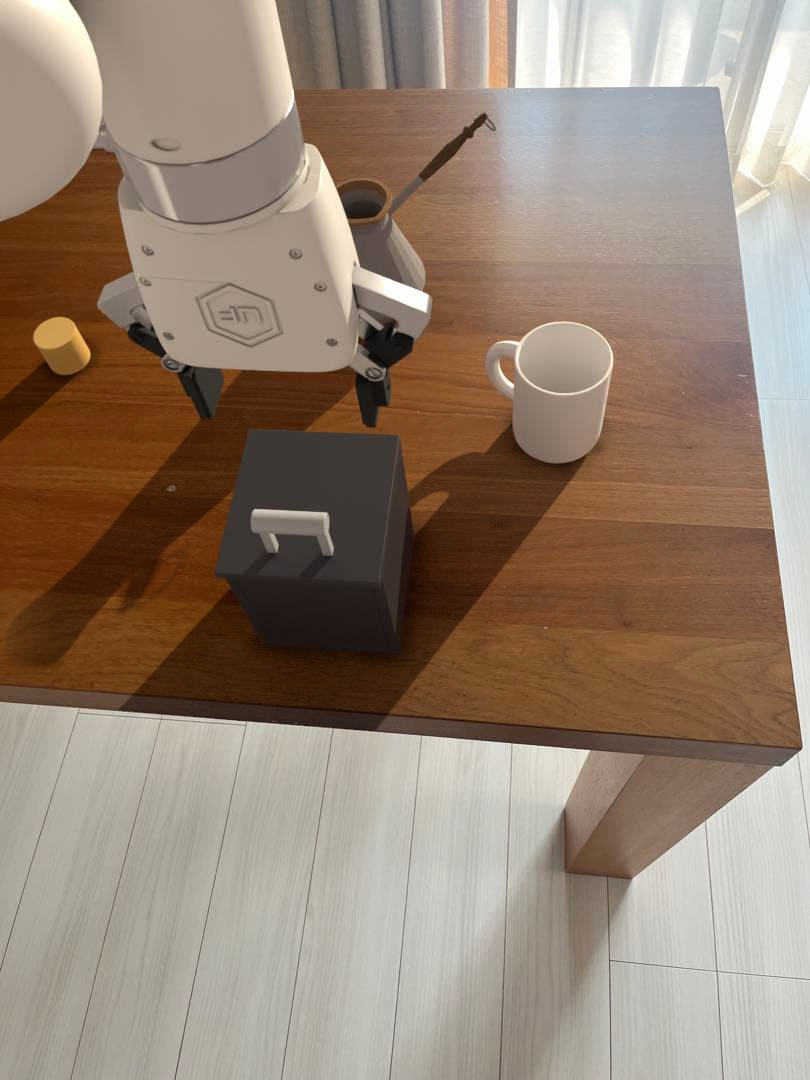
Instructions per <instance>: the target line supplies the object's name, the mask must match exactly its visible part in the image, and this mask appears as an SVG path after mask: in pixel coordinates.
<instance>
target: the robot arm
mask: <svg viewBox="0 0 810 1080" xmlns="http://www.w3.org/2000/svg"><path fill="white" fill-rule="evenodd" d="M283 36H284V35H283V32H282V28H281V23H280V17H279V13H278V7H277V3H276V0H0V222H3V221H6V220H8V219H9V220H10V219H11V218H15V217H18V216H20V215H22V214H24V213H27V212H28V211H30V210H32V209H33V208H36V207H38V206H40V205H41V204H42V203H45V202H46V201H48V200H50V199H51V198H53V197H54V196H55V195H56V194H58V192H60V191H61V190H63V189H64V188H65V187H66V186H67V185H68V184H69V183H71V181H72V180H73V179H74V178H75V176H77V174H78V173H79V172H80V170H81V169H82V168H83V167H84V165H85V164H86V163H87V160H88V158H89V156H90V154H91V152H92V151H93V152H106V153H107V154H108V155H111V156H114V157H115V158H116V160H117V162H118V164H119V166H120V170H121V172H122V174H123V177H122V178H121V180H120V182H119V184H118V186H117V187H118V188H117V201H118V208H119V209H118V210H119V214H120V220H121V224H122V230H123V234H124V238H125V242H126V247H127V251H128V252H127V253H128V255H129V260H130V263H131V267H132V271H131V272H128V273H127V274H125V275H123V276H120V277H119V278H117V279H115V280H112V281H110V282H108V283H106V284H104V285H103V288H102V289H101V292H100V295H99V297H98V300H97V302H96V307H97V310H99V311H100V312H101V313H102V314H104V315H105V316H106V317H107V318H108V319H110V320H111V321H112V322H113V323H114V324H115V325H117V326H118V327H119V328H120V329H124V330H126V331H127V333H126V334H127V338H128V339H129V340H130V342H133V343H134V344H135V345H137V346H139V347H141V348H143V349H145V350H146V351H148V352H150V353H151V354H153V355H155V356H157V357H159V358H161V360H160V365H161V367H162V368H163V369H164V370H166V371H167V372H170V373H176V375H177V378H178V380H179V382H180V384H181V386H182V388H183V390H184V392H185V395H186V396H187V397H188V398H190V399H191V402H192V404H193V406H194V407H195V410H196V412H197V414H198V416H199V418H200V419H202V420H211V419H212V418H214V417H215V414H216V411H217V408H218V406H219V405H218V404H219V401H220V398H221V394H222V390H223V388H224V384H225V378H224V377H225V376H224V375H223V371H222V369H224V370H241V371H243V370H245V371H263V372H264V371H265V372H266V371H267V372H293V373H327V372H334V371H338V370H341V369H344V368H347V367H349V368H351V369H353V370H354V371H355V372H356V374H355V375H356V376H355V381H354V382H355V383H354V387H355V393H356V397H357V402H358V406H359V411H360V416H361V421H362V425H364V426H365V427H366V428H372V429H373V428H375V429H376V428H377V426H378V419H379V413H380V408H381V407H382V408H383V407H387V408H388V407H390V404H391V403H390V402H391V398H392V380H391V379H392V378H391V373H390V368H392V367H393V366H394V365H396V364H397V363H398V362H400V361H402V360H403V359H405V358H406V357H407V356H408V355H410V354H411V353H412V352H413V349H414V345H415V344H416V342H417V341H418V340H419V339H420V337H421V336H422V335H423V333H424V331H425V330H426V329H427V327H428V325H429V324H430V322H431V320H432V319H431V318H432V311H433V307H434V306H433V305H434V299H433V297H432V296H431V295H429V294H428V293H426V292H423V291H422V292H421V291H418V290H416V289H413V288H411V287H408V286H406V285H403V284H401V283H398V282H396V281H393V280H391V279H388V278H386V277H383V276H381V275H378V274H376V273H373V272H371V271H368V270H366V269H363V268H361V267H360V264H359V260H358V256H357V252H356V248H355V245H354V241H353V238H352V234H351V230H350V227H349V224H348V221H347V218H346V215H345V212H344V209H343V206H342V203H341V200H340V198H339V195H338V193H337V190H336V188H335V186H336V184H335V183H334V180H333V178H332V176H331V174H330V172H329V169H328V166H327V165H326V163H325V161H324V158H323V157H322V154H321V153H320V151H319V149H318V148H317V147H316V145H314V144H312V143H311V144H310V143H306V142H305V139H304V134H303V130H302V124H301V119H300V115H299V110H298V105H297V101H296V96H295V95H296V94H295V91H294V87H293V80H292V76H291V70H290V67H289V62H288V61H289V60H288V56H287V52H286V47H285V42H284V38H283ZM362 307H365V308H367V309H370V310H372V311H375V312H378V313H380V314H383V315H385V316H388V317H390V318H393V319H394V320H393V321H390V322H388V323H386V324H385V325H384V324H382V325H381V324H380V323H379V322H377V321H376V320H375V319H374V318H372V317H371V316H370V315H369V314H367V313H366V312H365V311H363V310H362V309H361V308H362ZM359 338H360V339H361V340H362V341H363V343H362V345H361V344H360V343H359Z"/></svg>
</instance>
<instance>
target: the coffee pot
mask: <svg viewBox="0 0 810 1080" xmlns="http://www.w3.org/2000/svg"><path fill="white" fill-rule="evenodd" d="M486 121H488V123H489V124H490V125H491V126H492V127H491V126H490V125H489V124H488V123H487V122H486ZM483 125H485V126H486V127H487V128H488V129H489V130H490V131H492V132H496V131H497V128H496V125H495V124H494V123H493V121H492V120H491V119H490V118H489V116H488V114H487V113H486V112H483V113H480V114H479V115H478V116H477V117H476V118H474V119H473V122H472V123H471V124H470V125H465V126H464V127H463V129H462V132H461V133H460V134H458V135H457V136H456V137H455V138H453V139H452V140H450V141H449V142H448V143H446V144H444V146H443V147H442V149H440V151H439V152H438V153H437V154H436V155H435V156H434V157H433V158H432V160H431V161H430V162H429V163H428V164H427V165H426V166H425V167H424V168H423V169H422V170H421V171H420V172H419V173H418V175H417V176H416V178H415V179H413V180H412V181H411V182H410V183H409V184H408V185H407V186H406V187H405V188H404V189H402V190H401V191H400V192H399V193H398V194H397V195H396V196H395V197H394V198H393V195H392V192H391V190H390V188H389V187H388V186H387V185H386V184H385V183H384V182H382V181H380V180H378V179H375V178H371V177H370V178H369V177H354V178H349V179H346V180H344V181H341V182H339V183H337V184H335V188H336V190H337V193H338V195H339V198H340V200H341V203H342V206H343V209H344V212H345V215H346V218H347V221H348V224H349V227H350V230H351V234H352V238H353V241H354V245H355V248H356V252H357V256H358V260H359V264H360V267H361V268H363V269H366V270H368V271H371V272H373V273H376V274H378V275H381V276H383V277H386V278H388V279H391V280H393V281H396V282H398V283H401V284H403V285H406V286H408V287H411V288H413V289H416V290H418V291H421V292H423V290H424V288H425V285H426V275H427V274H426V273H427V272H426V270H425V266H424V263H423V261H422V259H421V258H420V256H419V255H418V253H417V251H416V250H415V249H414V248H413V246H412V244H410V242H409V241H408V240H407V238H406V237H405V235H404V234H403V232H402V230H400V228H399V226H398V225H397V223H396V222H395V220H393V218H392V217H391V216H392V215H393V214H394V213H395V212H396V211H397V210H398V209H399V208H400V207H401V206H402V205H403V203H405V202H406V201H407V200H408V199H409V198H410V197H411V195H412V194H414V192H415V191H416V190H418V188H419V187H420V186H421V185H422V184H423V183H425V182H427V181H428V180H429V179H430V178H431V177H432V176H433V175H434V174H435V173H436V172H437V171H439V170H440V169H441V168H442V167H443V166H444V165H446V164H448V162H449V161H450V160H451V159H452V158H453V157H455V156H456V155H457V153H458V152H459V151H460V150H461V148H462V146H464V145H465V143H466V141H467V140H469V139H473V138H474V135H475V132H476V130H478V129H480V128H481V127H482V126H483ZM361 309H362V310H363V311H365V312H366V313H367V314H369V315H370V316H371V317H372V318H374V319H375V320H376V321H377V322H379V323H380V324H381V325H387V324H389V323H390V322H391V321H393V320H394V319H393V318H390V317H388V316H385V315H383V314H380V313H378V312H375V311H372V310H370V309H367V308H365V307H362V308H361Z"/></svg>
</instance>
